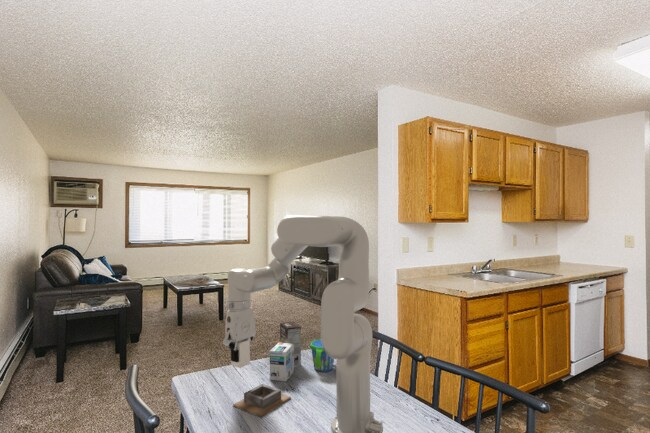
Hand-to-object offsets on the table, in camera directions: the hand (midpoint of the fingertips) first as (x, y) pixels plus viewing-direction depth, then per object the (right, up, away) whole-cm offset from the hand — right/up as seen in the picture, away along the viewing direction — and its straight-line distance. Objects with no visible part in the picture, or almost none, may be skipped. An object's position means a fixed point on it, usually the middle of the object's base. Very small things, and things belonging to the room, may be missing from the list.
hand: (240, 358), depth 123 cm
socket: (+9, -12, -6) cm, 16 cm away
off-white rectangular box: (0, -2, 0) cm, 2 cm away
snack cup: (+28, -13, +22) cm, 38 cm away
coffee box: (+14, -13, +27) cm, 33 cm away
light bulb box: (+12, -13, +15) cm, 23 cm away
